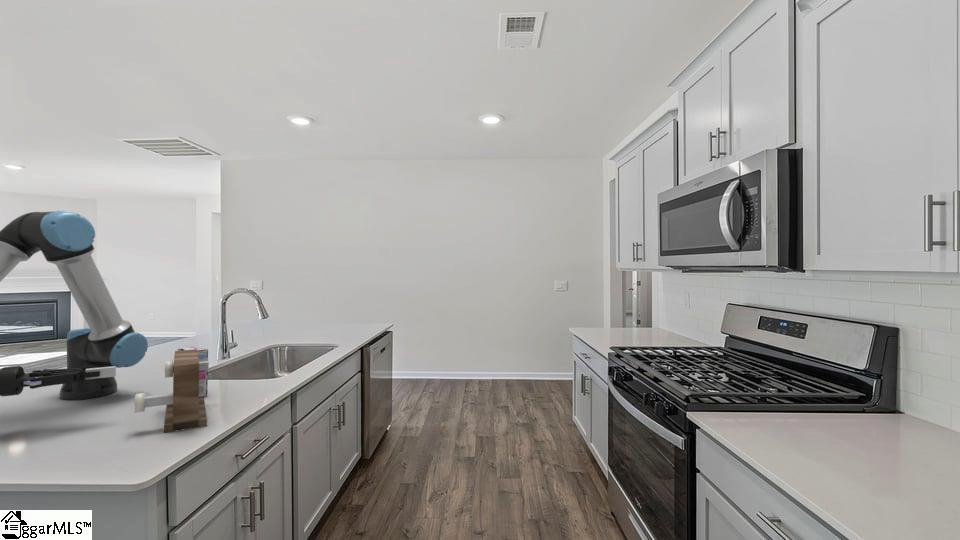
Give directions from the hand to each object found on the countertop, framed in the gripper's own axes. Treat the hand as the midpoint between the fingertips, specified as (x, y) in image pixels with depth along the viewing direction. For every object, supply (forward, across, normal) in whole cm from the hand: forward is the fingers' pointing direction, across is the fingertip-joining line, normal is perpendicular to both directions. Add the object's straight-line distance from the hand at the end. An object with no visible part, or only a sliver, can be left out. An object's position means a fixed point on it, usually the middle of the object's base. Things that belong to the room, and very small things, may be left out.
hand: (115, 371), depth 131 cm
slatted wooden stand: (+17, +6, -14) cm, 23 cm away
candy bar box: (+19, -18, -15) cm, 30 cm away
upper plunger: (+18, -3, -4) cm, 18 cm away
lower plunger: (+12, +14, -9) cm, 20 cm away
